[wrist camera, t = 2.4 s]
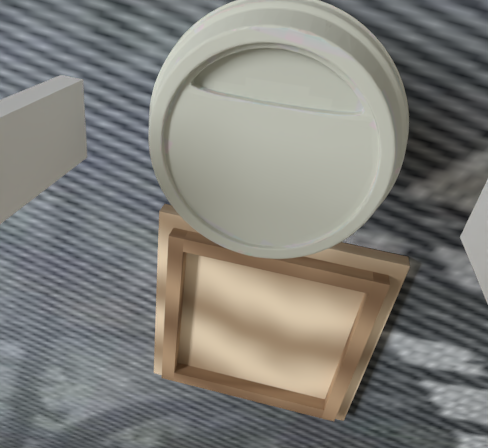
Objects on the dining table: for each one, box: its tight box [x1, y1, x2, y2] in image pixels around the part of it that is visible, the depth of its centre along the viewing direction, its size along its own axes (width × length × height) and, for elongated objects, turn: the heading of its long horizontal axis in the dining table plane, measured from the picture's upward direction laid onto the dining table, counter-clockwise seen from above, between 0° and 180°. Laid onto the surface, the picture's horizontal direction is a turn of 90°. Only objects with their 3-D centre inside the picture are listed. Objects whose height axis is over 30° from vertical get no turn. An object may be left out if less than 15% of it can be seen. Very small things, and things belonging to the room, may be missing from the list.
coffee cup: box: [149, 0, 409, 259], centre depth 18 cm, size 8×8×12 cm
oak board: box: [154, 204, 410, 421], centre depth 32 cm, size 16×16×2 cm
